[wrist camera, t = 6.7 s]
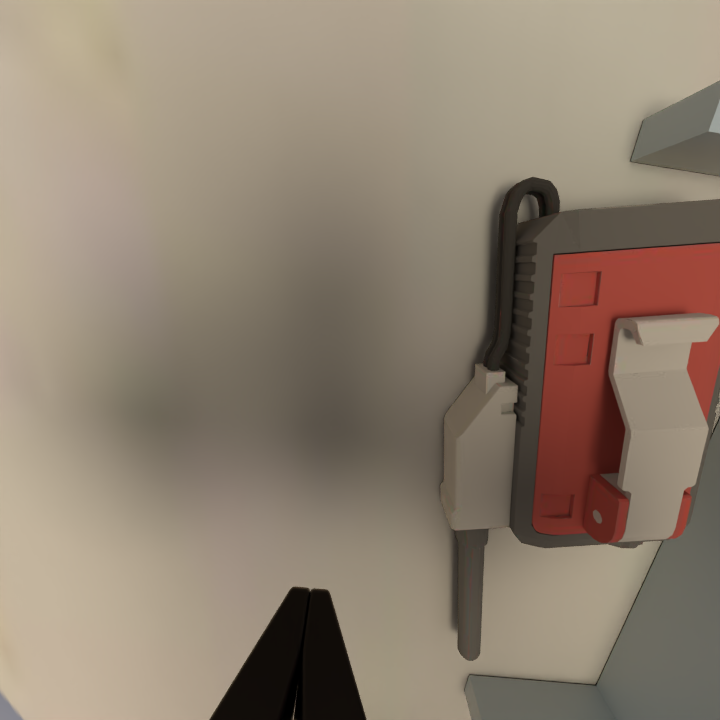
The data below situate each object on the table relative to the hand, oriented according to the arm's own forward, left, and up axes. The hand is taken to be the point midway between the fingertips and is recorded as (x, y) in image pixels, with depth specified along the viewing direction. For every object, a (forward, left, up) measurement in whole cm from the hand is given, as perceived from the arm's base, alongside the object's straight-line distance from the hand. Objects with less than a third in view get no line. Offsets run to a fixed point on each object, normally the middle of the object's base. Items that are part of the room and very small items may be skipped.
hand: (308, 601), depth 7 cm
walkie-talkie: (+1, -9, -7) cm, 11 cm away
